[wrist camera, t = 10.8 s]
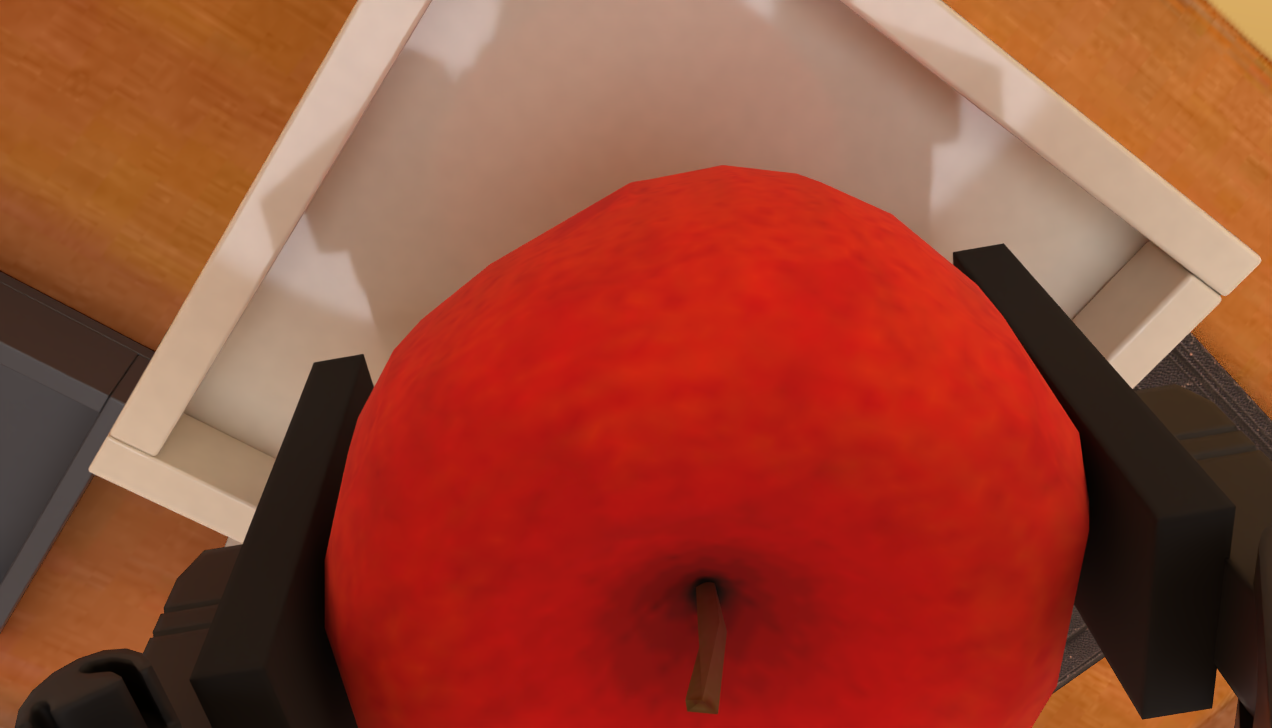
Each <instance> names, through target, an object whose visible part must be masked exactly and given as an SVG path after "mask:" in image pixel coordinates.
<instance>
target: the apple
mask: <svg viewBox="0 0 1272 728" xmlns="http://www.w3.org/2000/svg"><path fill="white" fill-rule="evenodd" d="M1088 534H1089V497H1088V490H1087V483H1086V476H1085V469H1084V463H1083V456H1082V449H1081V442H1080V436H1079V432H1078V430H1077V429H1076V427H1075V426H1074V424H1073V423H1072V421H1071V420H1070V418H1069V417H1068V415H1067V413H1066V412H1065V410H1064V409H1063V407H1062V406H1061V404H1060V403H1059V401H1058V400H1057V398H1056V397H1055V395H1054V394H1053V392H1052V390H1051V389H1050V387H1049V386H1048V384H1047V383H1046V381H1045V380H1044V378H1043V377H1042V375H1041V374H1040V372H1039V371H1038V369H1037V368H1036V366H1035V364H1034V363H1033V361H1032V360H1031V358H1030V357H1029V355H1028V354H1027V352H1026V351H1025V349H1024V348H1023V346H1022V345H1021V343H1020V341H1019V340H1018V338H1017V337H1016V335H1015V334H1014V332H1013V331H1012V329H1011V328H1010V326H1009V325H1008V323H1007V322H1006V320H1005V319H1004V317H1003V316H1002V314H1001V313H1000V312H999V311H998V309H997V308H996V307H995V306H994V305H993V303H992V302H991V301H990V300H989V299H988V297H987V296H986V295H985V294H984V292H983V291H982V290H981V289H980V288H979V286H978V285H977V284H976V283H974V282H973V281H972V280H971V279H970V278H968V277H967V276H966V275H965V274H964V273H962V272H961V271H960V270H959V269H958V268H956V267H955V266H954V265H953V264H952V263H950V262H949V261H948V260H947V259H946V258H944V257H943V256H942V255H941V254H939V253H938V252H937V251H936V250H935V249H933V248H932V247H931V246H930V245H929V244H927V243H926V242H925V241H924V240H923V239H921V238H920V237H919V236H918V235H917V234H915V233H914V232H913V231H912V230H911V229H909V228H908V227H907V226H906V225H905V224H903V223H902V222H901V221H900V220H898V219H897V218H896V217H895V216H894V215H892V214H891V213H888V212H886V211H884V210H882V209H879V208H877V207H875V206H873V205H871V204H868V203H866V202H864V201H862V200H859V199H857V198H855V197H853V196H851V195H848V194H846V193H844V192H842V191H839V190H837V189H835V188H833V187H831V186H828V185H826V184H824V183H822V182H819V181H816V180H814V179H811V178H808V177H805V176H802V175H799V174H797V173H788V172H779V171H771V170H762V169H754V168H745V167H736V166H728V165H720V166H715V167H710V168H705V169H700V170H695V171H690V172H684V173H679V174H674V175H669V176H664V177H659V178H654V179H648V180H641V181H634V182H631V183H629V184H627V185H625V186H623V187H622V188H620V189H618V190H617V191H615V192H613V193H611V194H610V195H608V196H606V197H604V198H603V199H601V200H599V201H598V202H596V203H594V204H592V205H591V206H589V207H587V208H586V209H584V210H582V211H580V212H579V213H577V214H575V215H574V216H572V217H570V218H568V219H567V220H565V221H563V222H562V223H560V224H558V225H556V226H555V227H553V228H551V229H550V230H548V231H546V232H544V233H543V234H541V235H539V236H538V237H536V238H534V239H532V240H531V241H529V242H527V243H525V244H524V245H522V246H520V247H519V248H517V249H515V250H513V251H512V252H510V253H508V254H507V255H505V256H503V257H501V258H500V259H498V260H496V261H495V262H493V263H491V264H490V265H488V266H487V267H486V268H485V269H483V270H482V271H481V272H480V273H478V274H477V275H476V276H475V277H473V278H472V279H471V280H470V281H469V282H467V283H466V284H465V285H464V286H462V287H461V288H460V289H459V290H457V291H456V292H455V293H454V294H452V295H451V296H450V297H449V298H447V299H446V300H445V301H444V302H442V303H441V304H440V305H439V306H438V307H436V308H435V309H434V310H433V311H431V312H430V313H429V314H428V315H426V316H425V317H424V318H423V319H421V320H420V322H419V323H418V324H417V325H416V326H415V327H414V328H413V329H412V330H411V331H410V333H409V334H408V335H407V336H406V337H405V338H404V339H403V340H402V341H401V342H400V344H399V345H398V346H397V347H396V348H395V349H394V350H393V352H392V354H391V356H390V358H389V360H388V362H387V364H386V365H385V367H384V369H383V371H382V373H381V375H380V377H379V379H378V381H377V383H376V384H375V386H374V388H373V390H372V392H371V394H370V396H369V398H368V400H367V402H366V404H365V405H364V407H363V409H362V411H361V413H360V415H359V417H358V419H357V423H356V426H355V430H354V433H353V437H352V440H351V444H350V447H349V451H348V455H347V460H346V464H345V469H344V473H343V478H342V482H341V487H340V492H339V496H338V501H337V505H336V510H335V515H334V519H333V524H332V528H331V533H330V538H329V542H328V547H327V551H326V556H325V630H326V633H327V636H328V639H329V642H330V645H331V648H332V651H333V654H334V657H335V660H336V663H337V666H338V669H339V672H340V675H341V678H342V681H343V684H344V687H345V690H346V693H347V696H348V699H349V702H350V705H351V708H352V711H353V714H354V717H355V720H356V723H357V726H358V728H1032V726H1033V724H1034V723H1035V721H1036V720H1037V718H1038V716H1039V715H1040V713H1041V711H1042V710H1043V708H1044V706H1045V705H1046V703H1047V701H1048V700H1049V698H1050V696H1051V695H1052V693H1053V691H1054V690H1055V688H1056V686H1057V683H1058V678H1059V673H1060V668H1061V663H1062V658H1063V654H1064V649H1065V644H1066V639H1067V634H1068V630H1069V625H1070V620H1071V615H1072V610H1073V606H1074V601H1075V596H1076V591H1077V586H1078V582H1079V577H1080V572H1081V567H1082V562H1083V558H1084V553H1085V548H1086V543H1087V538H1088Z"/></svg>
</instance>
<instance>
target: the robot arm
mask: <svg viewBox="0 0 1272 728" xmlns="http://www.w3.org/2000/svg"><path fill="white" fill-rule="evenodd" d="M953 265H954V266H955V267H956V268H958V269H959V270H960V271H961V272H962V273H964V274H965V275H966V276H967V277H968V278H970V279H971V280H972V281H973V282H974V283H976V284H977V285H978V286H979V288H980V289H981V290H982V291H983V292H984V294H985V295H986V296H987V297H988V299H989V300H990V301H991V302H992V303H993V305H994V306H995V307H996V308H997V309H998V311H999V312H1000V313H1001V314H1002V316H1003V317H1004V319H1005V320H1006V322H1007V323H1008V325H1009V326H1010V328H1011V329H1012V331H1013V332H1014V334H1015V335H1016V337H1017V338H1018V340H1019V341H1020V343H1021V345H1022V346H1023V348H1024V349H1025V351H1026V352H1027V354H1028V355H1029V357H1030V358H1031V360H1032V361H1033V363H1034V364H1035V366H1036V368H1037V369H1038V371H1039V372H1040V374H1041V375H1042V377H1043V378H1044V380H1045V381H1046V383H1047V384H1048V386H1049V387H1050V389H1051V390H1052V392H1053V394H1054V395H1055V397H1056V398H1057V400H1058V401H1059V403H1060V404H1061V406H1062V407H1063V409H1064V410H1065V412H1066V413H1067V415H1068V417H1069V418H1070V420H1071V421H1072V423H1073V424H1074V426H1075V427H1076V429H1077V430H1078V432H1079V436H1080V442H1081V449H1082V456H1083V463H1084V469H1085V476H1086V483H1087V490H1088V497H1089V534H1088V538H1087V543H1086V548H1085V553H1084V558H1083V562H1082V567H1081V572H1080V577H1079V582H1078V586H1077V591H1076V596H1075V601H1074V605H1075V607H1076V609H1077V610H1078V612H1079V614H1080V615H1081V617H1082V619H1083V621H1084V622H1085V624H1086V626H1087V627H1088V629H1089V631H1090V632H1091V634H1092V636H1093V637H1094V639H1095V641H1096V642H1097V644H1098V646H1099V647H1100V649H1101V651H1102V652H1103V654H1104V656H1105V658H1106V659H1107V661H1108V663H1109V664H1110V666H1111V668H1112V669H1113V671H1114V673H1115V674H1116V676H1117V678H1118V679H1119V681H1120V683H1121V684H1122V686H1123V688H1124V689H1125V691H1126V693H1127V695H1128V696H1129V698H1130V700H1131V701H1132V703H1133V705H1134V706H1135V708H1136V710H1137V711H1138V713H1139V715H1140V716H1141V718H1142V719H1148V718H1154V717H1160V716H1167V715H1173V714H1179V713H1185V712H1192V711H1198V710H1204V709H1210V708H1212V705H1213V697H1214V688H1215V680H1216V671H1217V669H1218V670H1219V672H1220V673H1221V674H1222V676H1223V677H1224V679H1225V680H1226V681H1227V683H1228V684H1229V686H1230V687H1231V688H1232V690H1233V691H1234V693H1235V694H1236V696H1237V697H1238V704H1237V711H1236V719H1235V726H1234V728H1272V461H1271V460H1270V459H1269V458H1268V457H1267V456H1266V455H1265V454H1264V453H1263V452H1262V451H1261V450H1256V445H1255V444H1254V443H1253V442H1252V441H1251V440H1250V439H1249V438H1248V437H1247V436H1246V435H1245V434H1244V433H1243V432H1242V431H1241V430H1240V431H1238V430H1237V426H1236V425H1235V424H1234V423H1233V422H1232V421H1231V420H1230V419H1229V417H1228V416H1227V415H1226V414H1225V413H1224V412H1223V411H1222V410H1221V409H1220V408H1219V407H1218V406H1217V405H1216V404H1215V403H1214V402H1212V401H1210V400H1208V399H1206V398H1204V397H1202V396H1200V395H1198V394H1196V393H1194V392H1192V391H1190V390H1188V389H1186V388H1184V387H1182V386H1180V385H1178V384H1173V385H1167V386H1161V387H1155V388H1149V389H1143V390H1137V391H1134V390H1133V389H1132V388H1131V387H1130V386H1129V385H1128V383H1127V382H1126V381H1125V380H1124V379H1123V378H1122V377H1121V376H1120V374H1119V373H1118V372H1117V371H1116V370H1115V369H1114V368H1113V366H1112V365H1111V364H1110V363H1109V362H1108V361H1107V360H1106V359H1105V357H1104V356H1103V355H1102V354H1101V353H1100V352H1099V351H1098V349H1097V348H1096V347H1095V346H1094V345H1093V344H1092V343H1091V342H1090V340H1089V339H1088V338H1087V337H1086V336H1085V335H1084V334H1083V332H1082V331H1081V330H1080V329H1079V328H1078V327H1077V326H1076V325H1075V323H1074V322H1073V321H1072V320H1071V319H1070V318H1069V317H1068V315H1067V314H1066V313H1065V312H1064V311H1063V310H1062V309H1061V307H1060V306H1059V305H1058V304H1057V303H1056V302H1055V301H1054V300H1053V298H1052V297H1051V296H1050V295H1049V294H1048V293H1047V292H1046V290H1045V289H1044V288H1043V287H1042V286H1041V285H1040V284H1039V283H1038V281H1037V280H1036V279H1035V278H1034V277H1033V276H1032V275H1031V273H1030V272H1029V271H1028V270H1027V269H1026V268H1025V267H1024V266H1023V264H1022V263H1021V262H1020V261H1019V260H1018V259H1017V258H1016V256H1015V255H1014V254H1013V253H1012V252H1011V251H1010V250H1009V249H1008V247H1007V246H1006V245H1005V244H1004V243H1003V244H997V245H991V246H985V247H979V248H974V249H968V250H962V251H956V252H953ZM373 388H374V385H373V382H372V379H371V376H370V373H369V370H368V366H367V363H366V360H365V357H364V354H359V355H354V356H348V357H342V358H336V359H331V360H325V361H319V362H314V363H313V366H312V368H311V371H310V373H309V376H308V379H307V381H306V384H305V386H304V389H303V391H302V394H301V396H300V399H299V401H298V404H297V407H296V409H295V412H294V414H293V417H292V419H291V422H290V424H289V427H288V429H287V432H286V435H285V437H284V440H283V442H282V445H281V447H280V450H279V452H278V455H277V457H276V460H275V463H274V465H273V468H272V470H271V473H270V475H269V478H268V480H267V483H266V485H265V488H264V491H263V493H262V496H261V498H260V501H259V503H258V506H257V508H256V511H255V513H254V516H253V519H252V521H251V524H250V526H249V529H248V531H247V534H246V536H245V539H244V542H243V544H240V545H234V546H228V547H223V548H217V549H211V550H205V551H203V552H202V553H201V554H200V555H199V557H198V558H197V559H196V560H195V561H194V562H193V563H192V564H191V565H190V566H189V567H188V568H187V569H186V570H185V571H184V572H183V573H182V574H181V575H180V576H179V577H178V578H177V580H176V582H175V584H174V586H173V589H172V591H171V593H170V595H169V597H168V600H167V602H166V604H165V606H164V614H161V615H160V617H159V619H158V622H157V624H156V626H155V628H154V630H153V638H150V639H149V641H148V644H147V646H146V648H145V650H144V652H143V654H142V653H139V652H136V651H133V650H129V649H115V650H103V651H100V652H97V653H94V654H91V655H88V656H85V657H82V658H79V659H77V660H75V661H73V662H72V663H70V664H68V665H66V666H64V667H63V668H61V669H59V670H57V671H55V672H54V673H52V674H51V675H50V676H49V677H48V678H47V679H45V680H44V681H43V682H42V683H41V684H39V685H38V686H37V687H36V688H35V689H34V690H32V692H31V693H30V695H29V696H28V698H27V699H26V700H25V702H24V703H23V705H22V706H21V707H20V709H19V711H18V715H17V720H16V725H15V728H358V726H357V723H356V720H355V717H354V714H353V711H352V708H351V705H350V702H349V699H348V696H347V693H346V690H345V687H344V684H343V681H342V678H341V675H340V672H339V669H338V666H337V663H336V660H335V657H334V654H333V651H332V648H331V645H330V642H329V639H328V636H327V633H326V630H325V556H326V551H327V547H328V542H329V538H330V533H331V528H332V524H333V519H334V515H335V510H336V505H337V501H338V496H339V492H340V487H341V482H342V478H343V473H344V469H345V464H346V460H347V455H348V451H349V447H350V444H351V440H352V437H353V433H354V430H355V426H356V423H357V419H358V417H359V415H360V413H361V411H362V409H363V407H364V405H365V404H366V402H367V400H368V398H369V396H370V394H371V392H372V390H373Z"/></svg>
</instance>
